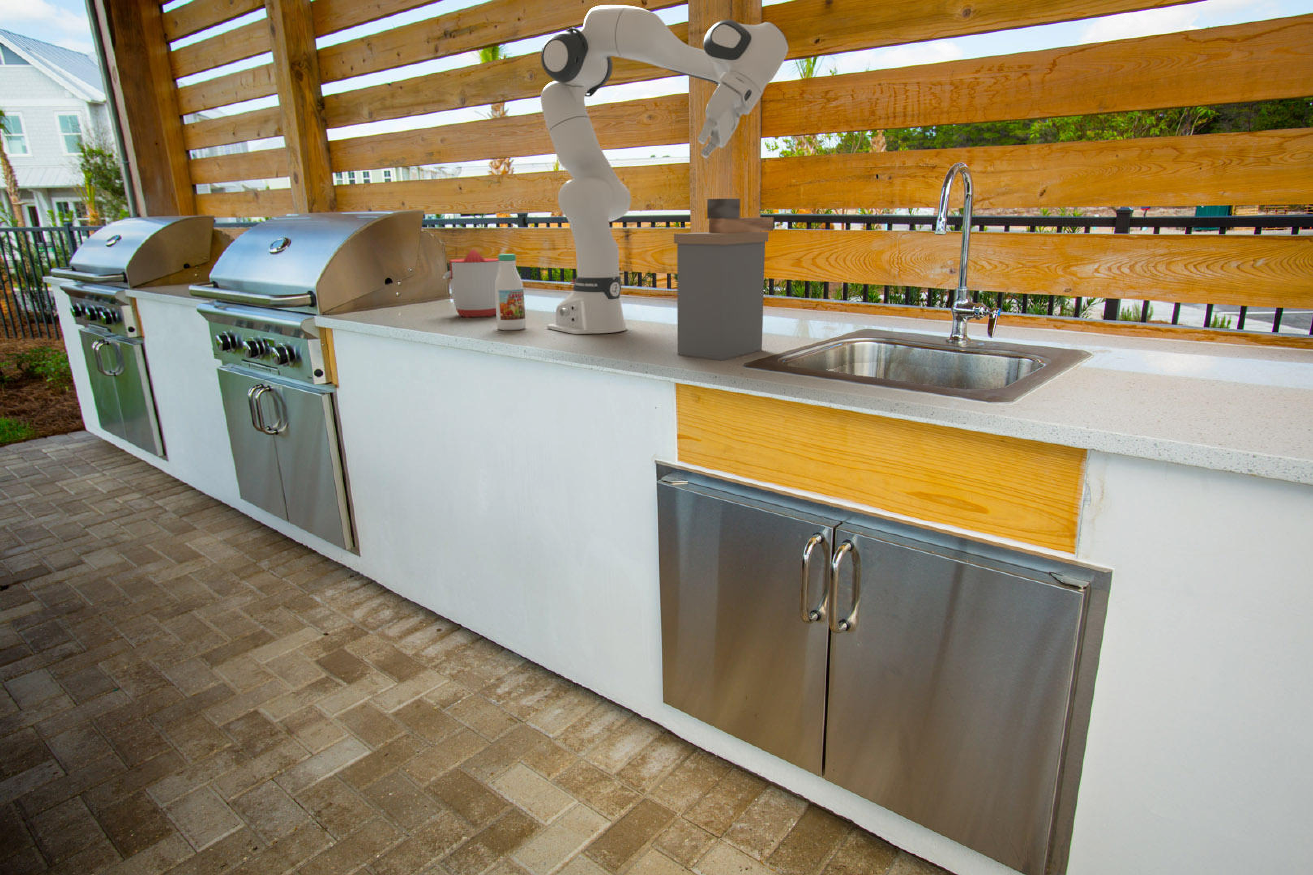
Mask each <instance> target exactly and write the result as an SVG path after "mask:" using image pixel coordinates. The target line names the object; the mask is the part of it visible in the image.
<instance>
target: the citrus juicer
mask: <svg viewBox="0 0 1313 875" xmlns="http://www.w3.org/2000/svg"><path fill="white" fill-rule="evenodd" d="M448 261H449V262H448V263H449V270H448V271H446V272H445V273H444V275H443V276H442V277H443V279H444V280H445V279H450V290H451V298H452V300H453V303H454V306H455V309H456V312H457V313H458V316H461V317H465V318H468V319H469V318H473V317H488V318H490V317H493V316H494V315H496V301H495V281H496V278H497V275H498V272H499V268H500V263H499V259H498V258H490V257H489V258H486V257H485V258H484V257H483V256H482V254H480V253H479V252H478V251H476V249H472V250H469V252H468V254H466V256H465V258H454V259H449V260H448Z"/></svg>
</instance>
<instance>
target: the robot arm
mask: <svg viewBox="0 0 1313 875" xmlns="http://www.w3.org/2000/svg"><path fill="white" fill-rule="evenodd" d="M702 45H703V49H701V48H697V47H693V46H691V45H689V44H686V43H685V42H683V41H682V40H681V39H680V38H679V37H677V36H676V35H675V34H674V32H672V30H670V28H669V27H668V26H667V25H666V23H665V22H664V21H663V20H662V19H661V18H660V16H659V15H657V14H656V13H655V12H652V11H650V10H647V9H645V8H642V7H637V6H631V5H622V4H621V5H618V4H617V5H616V4H615V5H614V4H613V5H612V4H609V5H608V4H607V5H606V4H605V5H597V6H595V7H592V8H591V9H589V11H588V12H587V14H586V16H585V18H584V21H583V27H582V28H581V29H580V30H579V29H578V28H576V27H570V28H568V29H567V30H565V31H563V32H559V33H557V34H555V35H552V36H550V37H549V38H548V39H547V40H546V41H545V42H544V44H543V46H542V48H541V52H540V61H541V67H542V69H543V70H544V72H545V73H546V74H547V75H548V77H550V78H551V79H553V81H552V82H549V83H548V84H546V85H545V87H544V88H543V90H542V91H541V94H540V103H541V109H542V114H543V119H544V122H545V125H546V128H547V131H548V135H549V137H550V139H551V142H552V146H553V148H554V151H555V153H556V157H557V159H558V161H559V163H560V165H561V166H562V168H563V169H565V170H566V171H567V173H569V175H570V176H571V177H572V179H569V180H568V181H567V180H566V182H564V183H563V184H562V186H561V187H560V189H559V192H558V194H557V203H558V207H559V209H560V211H561V212H562V214H563V215H564V216H565V218H566V219H567V221H568V224H569V227H570V230H571V233H572V236H573V240H574V245H575V253H576V255H575V256H576V272H577V273H576V275H577V276H576V277H575V279H569V281H570V282H569V284H570V285H573V286H572V292H571V293H570V294H568V295H567V296H566V298H564V299H563V300H562V301H561V302H559V303H558V305H557V306H556V309H555V322H552V323H549V324H547V326H546V328H547V329H548V330H553V331H557V332H558V331H559V332H563V333H569V334H574V335H583V334H584V335H585V334H608V333H618V332H623V331H626V330H627V326H626V322H625V319H624V318H625V317H624V314H623V313H624V311H623V305H622V298H621V292H622V278H621V276H620V257H619V253H620V252H619V245H618V243H617V241H616V240H615V238H614V237H613V234H612V230H611V227H610V222H614V221H617V220H618V219H620V218H622V217H624V216H625V215H626V214H627V213H628V212H629V210H630V207H631V204H632V197H631V193H630V190H629V188H628V187H627V186H626V185H625V184H624V183H623V182H622V181H621V180H620V179H619V176H617V174H616V172H615V170H614V169H613V167H612V166H611V164H610V162H609V161H608V158H607V157H606V155H605V154H604V152H603V150H602V147H601V146H600V143H599V140H598V138H597V135H596V132H595V129H594V126H593V124H592V121H591V119H590V116H589V113H588V110H587V107H586V103H585V97H589V98H590V97H592V96H594V94H595V93H596V92H597V91H598V90H599V89H601V88H602V87H603V86H605V85H606V84H607V83H608V81H609V80H610V78H611V75H612V73H613V60H612V57H616V58H620V59H626V60H632V61H635V62H636V61H637V62H640V63H646V64H649V65H652V66H655V67H659V68H662V69H665V70H668V71H670V72H673V73H676V74H680V75H684V76H689V77H691V78H695V79H700V80H703V81H707V82H710V83H713V84H715V85H716V86H717V87H716V89H715V90H714V92H713V93H712V94H711V98H709V101H708V102H707V104H706V108H705V111H704V113H705V118H706V120H705V122H704V123H703V127H702V130H701V131H700V133H699V135H698V136H697V141H698V143H700V144H701V145H705V144H706V143H707V144H706V145H705V146H703V148H702V150H701V151H700V153H701V154H700V155H701V156H702V157H703V158H705V159H709V157H710V155H711V154H712V153H713V152H714V151H715V150H716V149H717V148H720V149H723V148H725V147H726V145H727V144H728V143H729V141H730V139H731V137H732V136H733V135H734V133H735V131H736V130H737V128H738V125H739V124H740V120H741V119H740V118H741V117H742V115H745V116H746V115H747V116H748V115H750V113H751V112H752V110H753V109H754V108H755V106H756V105H757V103H758V102H759V100H760V98H761V97H762V96H763V93H764V91H765V88H766V86H767V85H768V84H769V83H771V81H772V80H774V77H775V76H776V74H777V73H778V71H779V70H780V68H781V66H782V65H783V63H784V60H785V58H787V57H786V56H787V55H788V52H789V44H788V39H787V38H786V36H785V34H784V33H783V31H782V30H781V29H780V28H779V27H778V26H777V25H776V24H775V23H773V22H769V21H765V22H762V23H759V24H745V23H744V24H743V23H740V22H737V21H734V20H733V19H732V20H731V19H724V20H720V21H717V22H716V23H715V24H713V25H712V26H711V27H710V28H709V29H708V30H707V32H706V34H705V35H704V38H703V44H702ZM708 139H709V140H708Z"/></svg>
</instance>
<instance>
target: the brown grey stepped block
mask: <svg viewBox="0 0 1313 875" xmlns="http://www.w3.org/2000/svg"><path fill="white" fill-rule="evenodd" d="M706 204H707V205H706V206H707V207H706V209H707V210H706V211H707V216H706V218H707V219H708V232H709V233H739V232H773V231H774V216H773V217H772V216H771V217H769V216H768V217H766V216H765V217H764V216H760V217H759V216H757V217H741V216H740V214H741V213H740V211H741V198H707V202H706Z"/></svg>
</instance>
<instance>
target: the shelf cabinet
mask: <svg viewBox="0 0 1313 875" xmlns="http://www.w3.org/2000/svg"><path fill="white" fill-rule="evenodd" d="M769 233H770V231H759V232H739V233H709V231H707V232H706V231H705V232H704V231H703V232H701V231H700V232H681V233H674V234H673V244H677V249H676V250H677V252H676V253H677V256H676V258H677V264H676V265H677V275H676V276H677V277H676V278H677V280H676V281H677V284H676V285H677V286H676V287H677V293H676V294H677V297H676V298H677V302H676V303H677V305H676V306H677V313H676V314H677V316H676V317H677V318H676V319H677V355H679V356H687V357H695V358H701V359H709V360H716V361H725V360H729V359H733V358H737V357H740V355H741V356H744V355H747V354H751V353H756V352H759V351H762V350H763V326H764V325H763V323H764V321H763V320H764V293H765V292H764V290H765V288H764V286H765V258H766V256H765V255H766V253H765V252H766V242H767V243H768V242H769ZM755 351H756V352H755Z"/></svg>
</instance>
